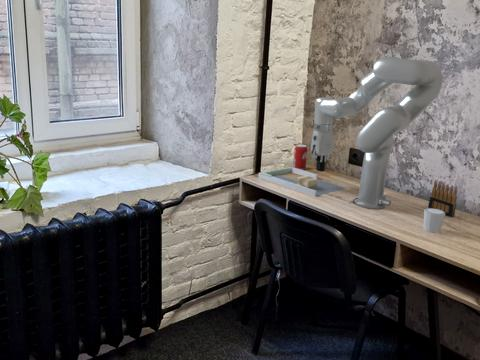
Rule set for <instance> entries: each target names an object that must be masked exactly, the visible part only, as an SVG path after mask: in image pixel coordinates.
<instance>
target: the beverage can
mask: <svg viewBox="0 0 480 360" xmlns="http://www.w3.org/2000/svg"><path fill="white" fill-rule="evenodd" d="M293 151H294V152H293V161H292V162H293V163H292V167H293V168H297V169H300V170H304V171H305V169H306V168H307V157H308V147H307V145H305V144H296V145H295V147H294V150H293Z"/></svg>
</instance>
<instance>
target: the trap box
mask: <svg viewBox="0 0 480 360" xmlns="http://www.w3.org/2000/svg"><path fill="white" fill-rule="evenodd" d="M290 174H295V175H298V176H296V177H292V178H289V177H286V176H284V175H290ZM303 176H310V177H313V178H316V179H318V177H319V174H318V173H313V172H310V171H306V170H305V169H304V170H300V169H297V168H293V166H289V167H284V168H283V167H282V168H278V169H272V170H268V171H267V170H266V171H261V172H258V177H257V180H259V181H260V180H265V181H268V182H271V183H275V184H277V185H279V186H283V187H287V188H290V189H293V190H295V191H299V192H301V193H304V194H308V195H310V196H313V197H317V196H321V195H326V194H328V193H332V192H336V191H341V190H344V189H347V186H346V187H345V186H342V185H339V184H336V183H332V182H329V181H327V180H322V179H318V182H317V188H316V189H309V188H306V187H303V186H300V185H297V180H296V179H297V178H298V177H303Z"/></svg>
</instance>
